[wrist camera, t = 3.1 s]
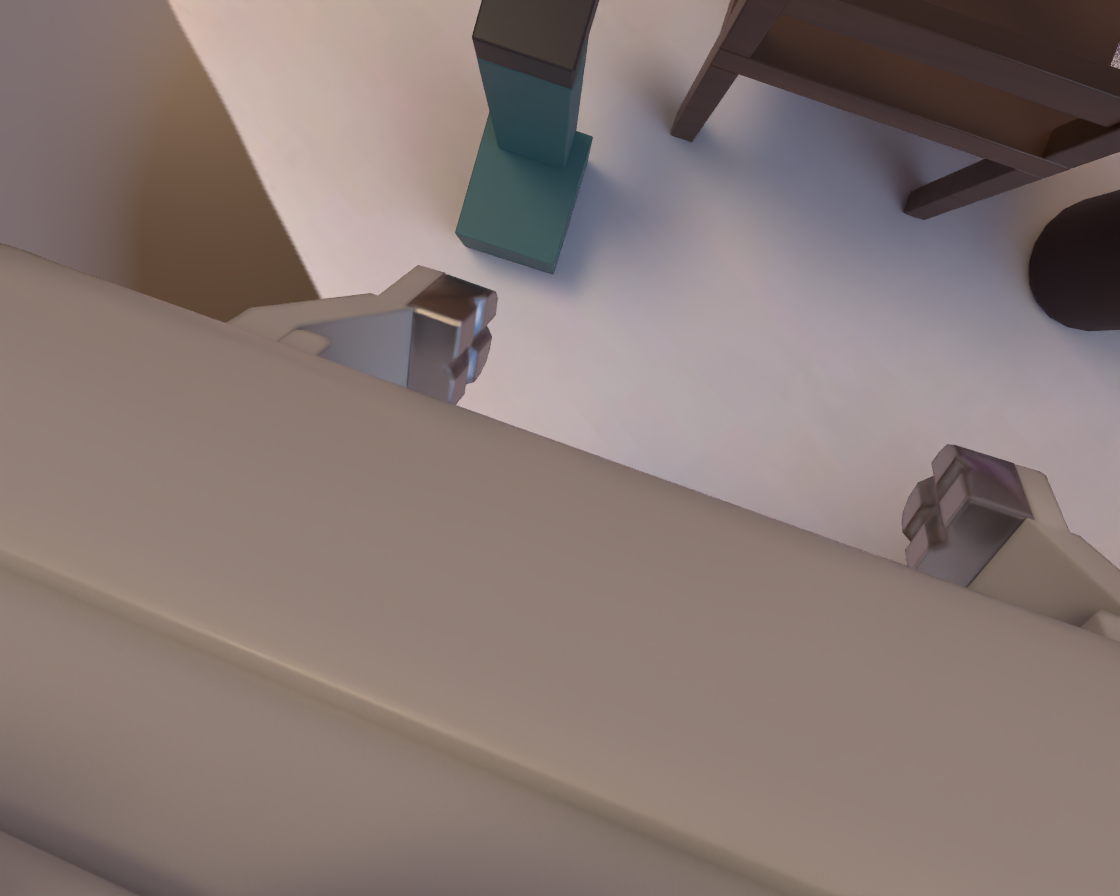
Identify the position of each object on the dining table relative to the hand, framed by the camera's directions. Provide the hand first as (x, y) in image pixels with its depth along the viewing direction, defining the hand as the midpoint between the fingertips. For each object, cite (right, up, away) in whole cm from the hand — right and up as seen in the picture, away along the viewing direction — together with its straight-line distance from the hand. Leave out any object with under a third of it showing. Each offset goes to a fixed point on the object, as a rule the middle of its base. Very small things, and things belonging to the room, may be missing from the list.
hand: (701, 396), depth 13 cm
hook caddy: (-4, +14, +24) cm, 28 cm away
